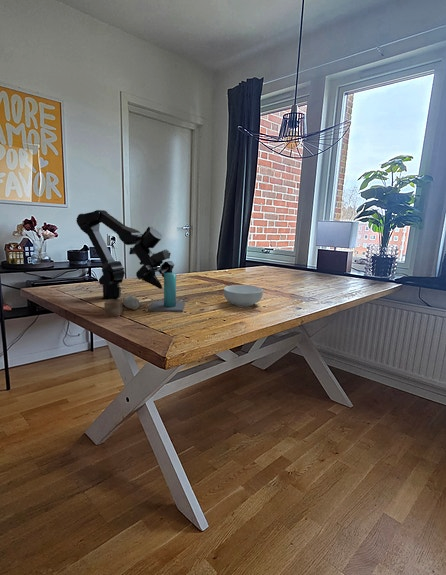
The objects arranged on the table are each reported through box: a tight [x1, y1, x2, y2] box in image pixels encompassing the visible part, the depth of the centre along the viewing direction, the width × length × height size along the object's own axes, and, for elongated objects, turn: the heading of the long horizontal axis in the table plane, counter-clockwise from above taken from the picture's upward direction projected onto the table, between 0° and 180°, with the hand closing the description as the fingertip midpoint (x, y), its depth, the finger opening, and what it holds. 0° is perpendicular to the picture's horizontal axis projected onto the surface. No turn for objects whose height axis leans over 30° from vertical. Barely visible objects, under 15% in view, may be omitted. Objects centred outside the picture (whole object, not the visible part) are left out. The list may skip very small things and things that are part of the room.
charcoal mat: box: [147, 300, 186, 313], centre depth 132 cm, size 13×13×1 cm
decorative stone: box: [122, 294, 141, 311], centre depth 132 cm, size 6×16×3 cm, turn 27°
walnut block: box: [103, 299, 124, 317], centre depth 119 cm, size 5×5×5 cm
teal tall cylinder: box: [163, 272, 177, 307], centre depth 130 cm, size 5×5×13 cm
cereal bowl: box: [223, 284, 264, 308], centre depth 141 cm, size 17×17×7 cm
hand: (168, 286), depth 130 cm, fingers open, 9 cm apart
